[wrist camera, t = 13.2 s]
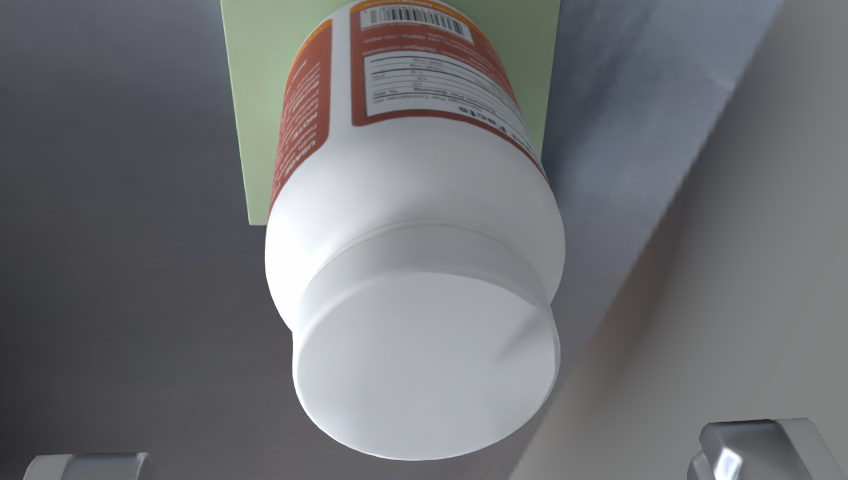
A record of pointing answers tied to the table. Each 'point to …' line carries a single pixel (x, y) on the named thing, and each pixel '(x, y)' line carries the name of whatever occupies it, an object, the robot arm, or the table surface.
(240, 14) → the mat
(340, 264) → the pill bottle
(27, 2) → the table surface
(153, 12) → the table surface
